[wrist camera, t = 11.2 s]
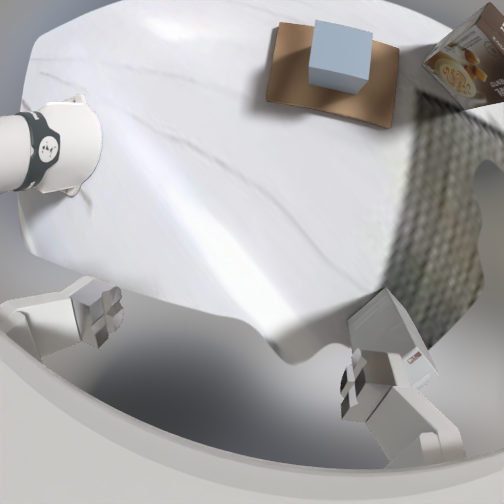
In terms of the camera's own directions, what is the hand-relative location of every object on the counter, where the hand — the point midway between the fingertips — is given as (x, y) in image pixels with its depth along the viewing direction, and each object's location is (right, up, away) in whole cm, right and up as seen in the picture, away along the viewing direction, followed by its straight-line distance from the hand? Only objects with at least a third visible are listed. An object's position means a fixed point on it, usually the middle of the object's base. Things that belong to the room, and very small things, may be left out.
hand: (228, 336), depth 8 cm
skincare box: (+20, -7, +30) cm, 37 cm away
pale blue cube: (+11, +25, +19) cm, 33 cm away
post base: (+11, +26, +20) cm, 34 cm away
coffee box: (+29, +28, +16) cm, 43 cm away
